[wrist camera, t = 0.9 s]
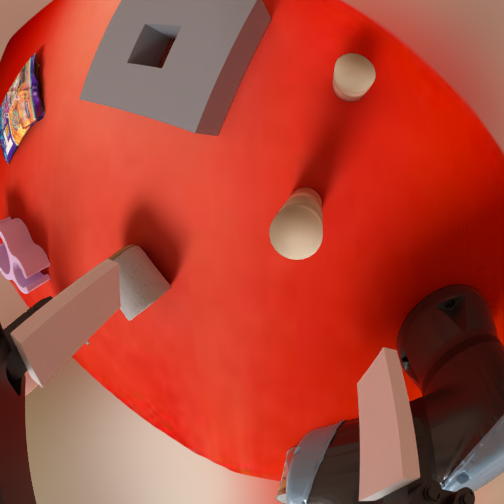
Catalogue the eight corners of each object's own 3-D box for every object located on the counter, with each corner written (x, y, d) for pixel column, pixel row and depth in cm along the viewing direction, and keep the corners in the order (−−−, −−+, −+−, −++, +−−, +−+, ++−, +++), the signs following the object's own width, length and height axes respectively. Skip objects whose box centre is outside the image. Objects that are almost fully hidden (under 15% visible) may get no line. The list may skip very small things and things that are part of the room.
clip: (51, 246, 43) (25, 259, 37) (51, 292, 48) (30, 306, 42) (10, 207, 44) (-12, 215, 38) (10, 250, 49) (-9, 259, 43)
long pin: (327, 196, 28) (331, 223, 17) (313, 225, 30) (307, 268, 19) (297, 181, 29) (282, 198, 18) (283, 210, 30) (261, 245, 19)
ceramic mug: (143, 233, 36) (107, 253, 29) (180, 279, 37) (150, 308, 30) (111, 271, 40) (79, 292, 33) (142, 310, 41) (114, 337, 34)
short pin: (370, 81, 23) (380, 64, 17) (358, 107, 24) (367, 96, 19) (339, 66, 23) (342, 47, 17) (327, 93, 24) (328, 78, 19)
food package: (54, 124, 34) (36, 126, 30) (7, 177, 42) (-6, 181, 38) (47, 40, 28) (32, 37, 24) (-1, 103, 36) (-13, 104, 33)
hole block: (271, 19, 22) (260, -5, 17) (217, 136, 29) (195, 133, 23) (151, 5, 23) (127, -10, 18) (109, 102, 30) (79, 99, 25)
